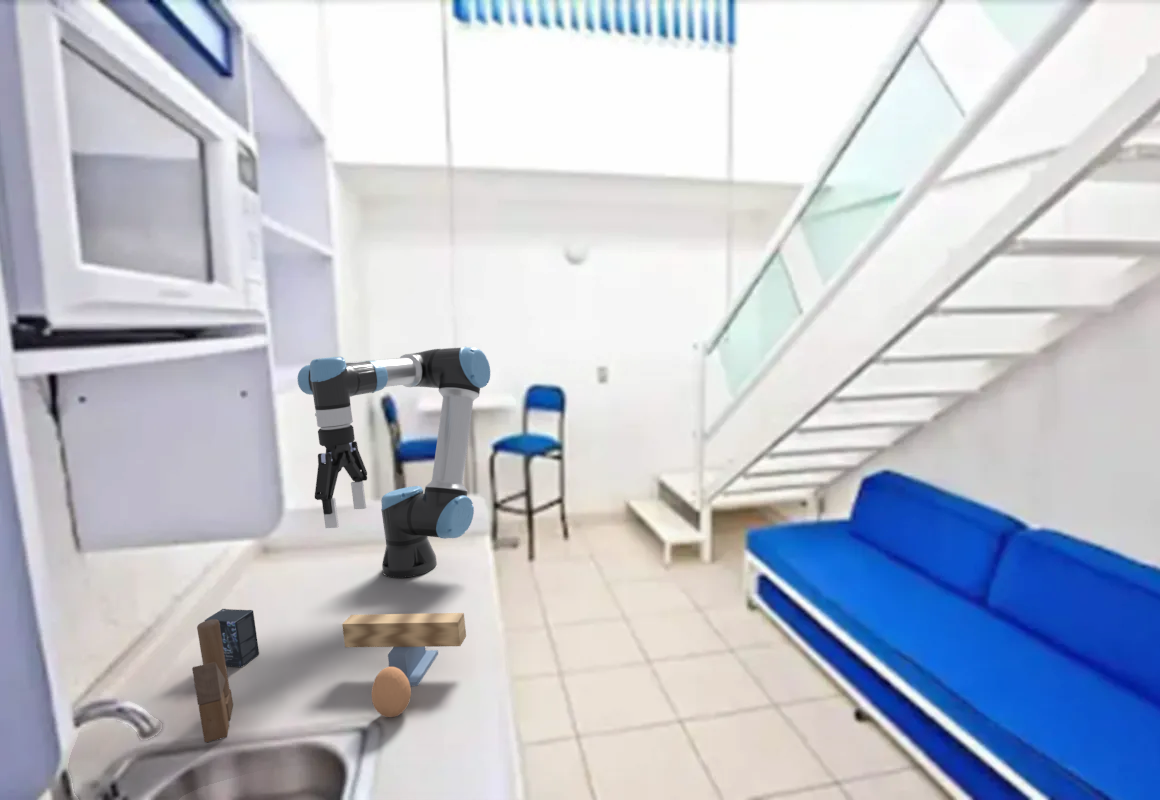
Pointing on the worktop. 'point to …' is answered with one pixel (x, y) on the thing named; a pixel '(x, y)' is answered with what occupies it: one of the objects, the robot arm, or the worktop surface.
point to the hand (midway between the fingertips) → (346, 517)
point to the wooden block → (212, 683)
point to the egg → (391, 692)
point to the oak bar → (404, 630)
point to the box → (237, 636)
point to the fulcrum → (412, 661)
